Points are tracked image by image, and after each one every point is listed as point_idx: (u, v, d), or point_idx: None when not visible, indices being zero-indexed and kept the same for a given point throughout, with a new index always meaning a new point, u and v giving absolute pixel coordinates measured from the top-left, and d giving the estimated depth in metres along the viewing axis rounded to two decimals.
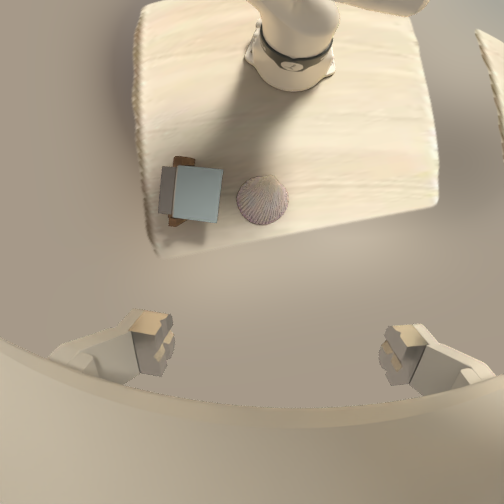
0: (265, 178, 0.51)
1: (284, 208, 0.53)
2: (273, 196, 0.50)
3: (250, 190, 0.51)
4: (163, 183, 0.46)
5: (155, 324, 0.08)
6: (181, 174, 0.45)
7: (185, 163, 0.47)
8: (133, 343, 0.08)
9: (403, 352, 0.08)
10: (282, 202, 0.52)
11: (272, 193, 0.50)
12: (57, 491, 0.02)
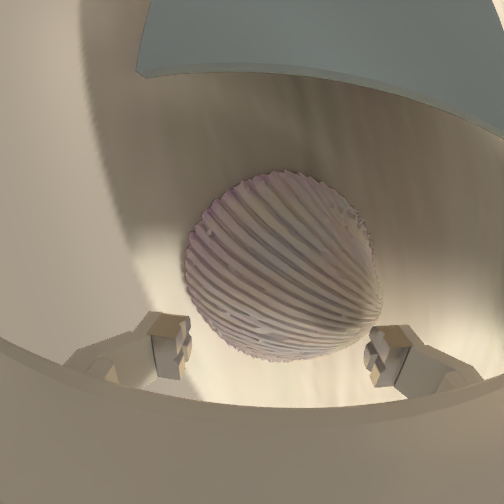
0: (378, 297, 0.11)
1: (257, 356, 0.14)
2: (311, 346, 0.11)
3: (333, 241, 0.11)
4: None
5: (175, 327, 0.08)
6: None
7: None
8: (152, 347, 0.08)
9: (386, 353, 0.08)
10: (281, 359, 0.13)
11: (324, 343, 0.11)
12: (56, 491, 0.02)
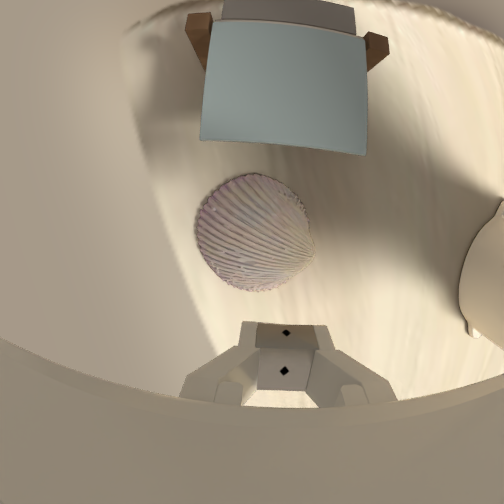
0: (310, 243, 0.21)
1: (241, 286, 0.24)
2: (270, 269, 0.21)
3: (279, 210, 0.21)
4: (309, 3, 0.12)
5: (280, 337, 0.08)
6: (341, 43, 0.12)
7: None
8: (259, 360, 0.08)
9: (286, 355, 0.08)
10: (255, 284, 0.23)
11: (277, 266, 0.21)
12: (56, 491, 0.02)
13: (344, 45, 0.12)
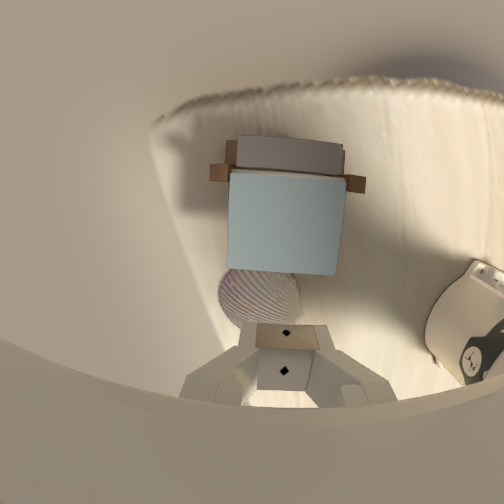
0: (298, 309, 0.31)
1: None
2: None
3: (276, 289, 0.30)
4: (305, 146, 0.21)
5: (280, 337, 0.08)
6: (327, 190, 0.21)
7: None
8: (259, 360, 0.08)
9: (286, 354, 0.08)
10: None
11: None
12: (56, 491, 0.02)
13: (328, 191, 0.21)
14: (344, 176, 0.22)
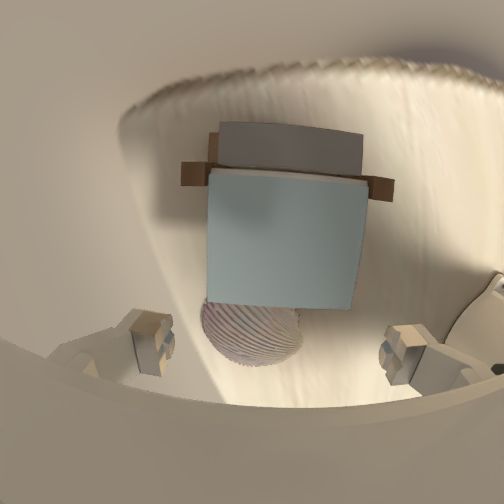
0: (297, 338, 0.25)
1: (241, 363, 0.27)
2: (262, 360, 0.24)
3: (270, 316, 0.24)
4: (313, 136, 0.15)
5: (155, 324, 0.08)
6: (343, 196, 0.15)
7: None
8: (133, 343, 0.08)
9: (403, 352, 0.08)
10: (252, 365, 0.26)
11: (268, 359, 0.24)
12: (56, 491, 0.02)
13: (345, 199, 0.15)
14: (364, 178, 0.16)
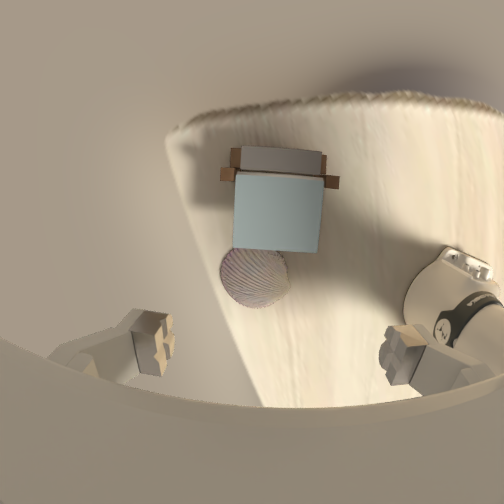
0: (286, 282, 0.38)
1: (247, 305, 0.40)
2: (262, 298, 0.37)
3: (267, 265, 0.37)
4: (293, 154, 0.28)
5: (155, 324, 0.08)
6: (309, 186, 0.28)
7: None
8: (133, 343, 0.08)
9: (403, 352, 0.08)
10: (255, 305, 0.39)
11: (266, 296, 0.37)
12: (56, 491, 0.02)
13: (310, 188, 0.28)
14: (323, 176, 0.29)
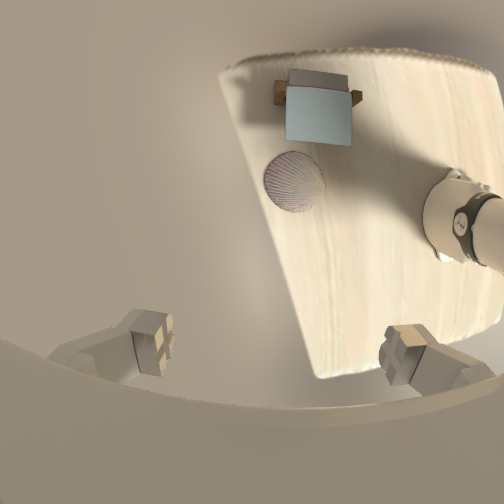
0: (322, 183, 0.42)
1: (288, 209, 0.45)
2: (304, 195, 0.42)
3: (306, 167, 0.41)
4: (327, 75, 0.32)
5: (155, 324, 0.08)
6: (341, 97, 0.32)
7: None
8: (133, 343, 0.08)
9: (403, 352, 0.08)
10: (296, 206, 0.44)
11: (307, 193, 0.41)
12: (56, 491, 0.02)
13: (342, 98, 0.32)
14: None
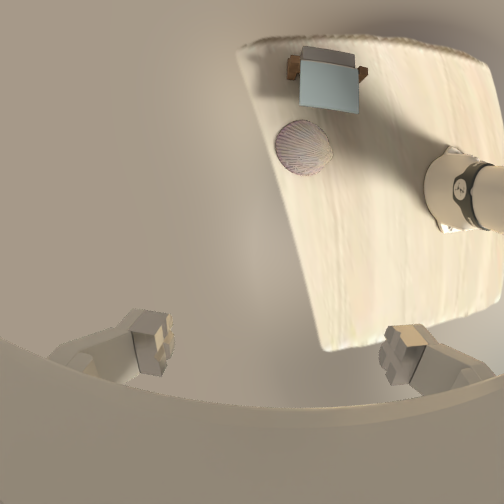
0: (330, 148, 0.43)
1: (298, 171, 0.46)
2: (313, 157, 0.43)
3: (315, 133, 0.42)
4: (336, 53, 0.33)
5: (155, 324, 0.08)
6: (349, 71, 0.34)
7: None
8: (133, 343, 0.08)
9: (403, 352, 0.08)
10: (305, 168, 0.45)
11: (316, 156, 0.43)
12: (56, 491, 0.02)
13: (350, 72, 0.34)
14: None
